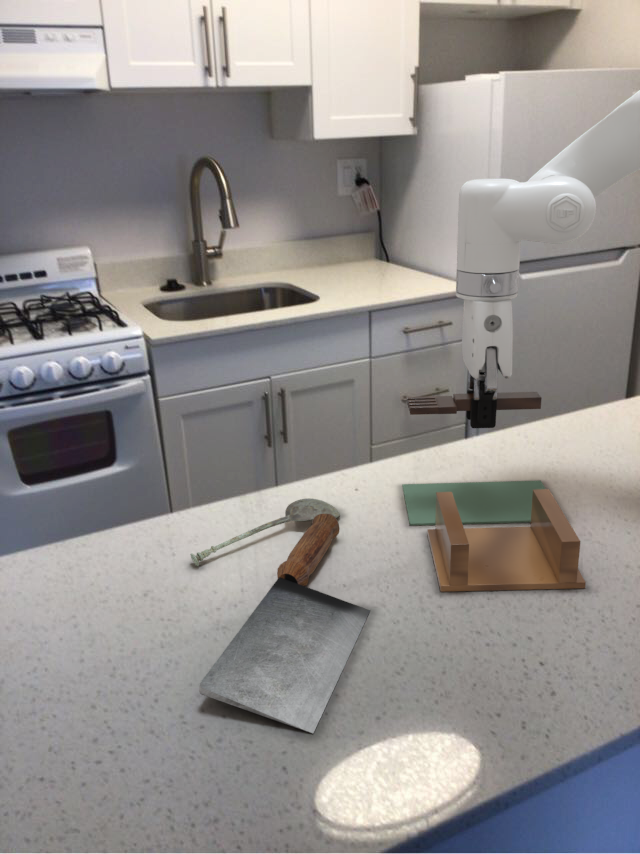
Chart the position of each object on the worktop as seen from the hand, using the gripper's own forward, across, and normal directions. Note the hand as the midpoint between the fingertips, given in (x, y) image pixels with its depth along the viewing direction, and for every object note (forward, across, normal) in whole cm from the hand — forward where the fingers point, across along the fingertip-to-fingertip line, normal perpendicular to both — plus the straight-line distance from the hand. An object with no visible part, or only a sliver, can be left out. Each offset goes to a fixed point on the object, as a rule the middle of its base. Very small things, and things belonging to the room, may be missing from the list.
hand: (480, 421), depth 100 cm
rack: (+12, -15, 0) cm, 19 cm away
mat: (+12, 0, 0) cm, 12 cm away
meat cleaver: (+12, -25, +22) cm, 35 cm away
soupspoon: (+12, -8, +28) cm, 32 cm away
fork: (-2, 0, +1) cm, 2 cm away
